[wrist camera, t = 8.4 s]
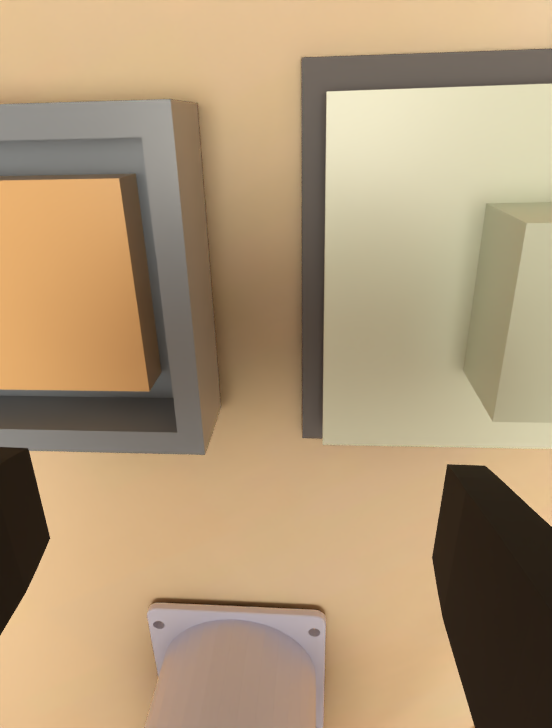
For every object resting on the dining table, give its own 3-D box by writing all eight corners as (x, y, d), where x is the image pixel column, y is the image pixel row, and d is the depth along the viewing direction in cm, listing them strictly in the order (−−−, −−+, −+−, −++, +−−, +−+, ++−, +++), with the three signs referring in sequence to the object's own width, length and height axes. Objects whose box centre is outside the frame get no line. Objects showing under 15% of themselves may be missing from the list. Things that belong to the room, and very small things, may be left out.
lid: (632, 430, 18) (717, 514, 14) (322, 426, 19) (323, 503, 15) (740, 79, 13) (907, 62, 10) (326, 93, 14) (328, 83, 10)
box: (221, 407, 19) (204, 454, 16) (-38, 403, 20) (-94, 447, 17) (197, 103, 15) (170, 98, 12) (-130, 112, 16) (-224, 110, 13)
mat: (642, 438, 18) (649, 445, 18) (302, 432, 19) (302, 438, 19) (770, 42, 13) (783, 40, 13) (301, 59, 14) (301, 57, 14)
